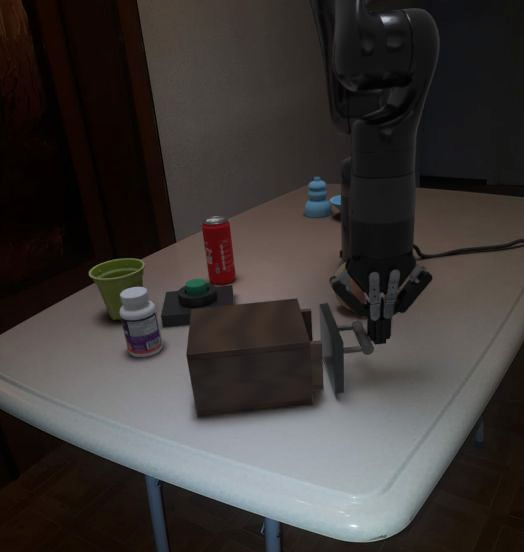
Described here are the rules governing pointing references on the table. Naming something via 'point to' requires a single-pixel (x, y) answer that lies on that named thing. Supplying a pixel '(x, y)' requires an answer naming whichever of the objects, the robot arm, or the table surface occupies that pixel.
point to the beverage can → (218, 249)
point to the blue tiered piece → (320, 200)
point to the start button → (196, 287)
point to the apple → (354, 289)
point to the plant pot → (117, 281)
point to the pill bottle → (140, 322)
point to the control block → (193, 303)
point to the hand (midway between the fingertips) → (378, 341)
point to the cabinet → (249, 357)
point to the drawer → (332, 347)
